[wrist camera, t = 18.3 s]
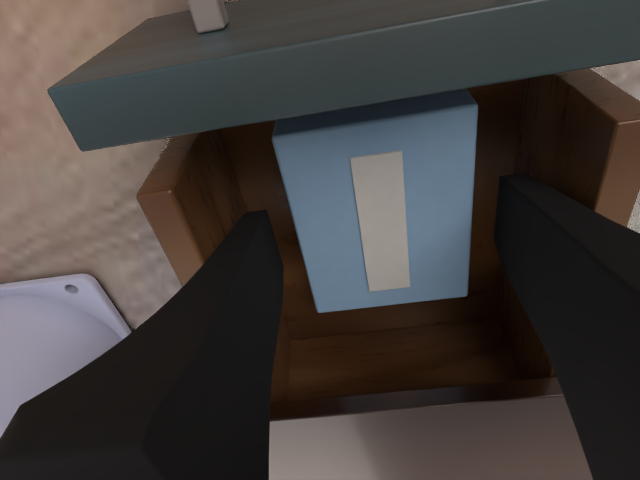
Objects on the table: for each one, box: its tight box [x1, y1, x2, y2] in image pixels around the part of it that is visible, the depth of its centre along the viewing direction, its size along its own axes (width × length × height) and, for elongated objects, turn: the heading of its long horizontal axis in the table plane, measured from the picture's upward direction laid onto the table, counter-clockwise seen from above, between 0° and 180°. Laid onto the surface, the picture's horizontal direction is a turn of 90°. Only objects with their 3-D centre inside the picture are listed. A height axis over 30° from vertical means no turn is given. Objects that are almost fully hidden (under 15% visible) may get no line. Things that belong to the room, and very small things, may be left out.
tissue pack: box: [272, 89, 478, 313], centre depth 12 cm, size 5×6×3 cm
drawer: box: [47, 0, 640, 403], centre depth 11 cm, size 20×11×5 cm, turn 10°
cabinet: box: [269, 377, 593, 480], centre depth 19 cm, size 14×12×7 cm
